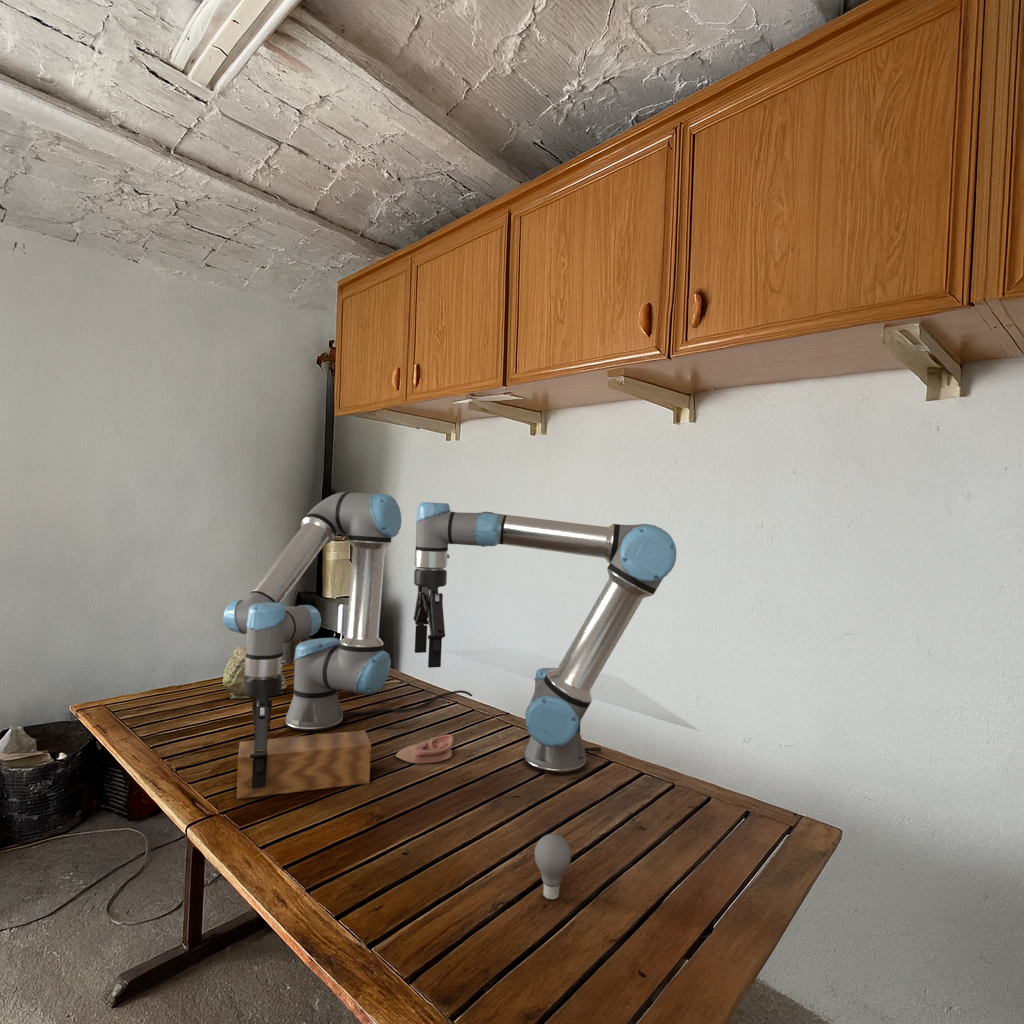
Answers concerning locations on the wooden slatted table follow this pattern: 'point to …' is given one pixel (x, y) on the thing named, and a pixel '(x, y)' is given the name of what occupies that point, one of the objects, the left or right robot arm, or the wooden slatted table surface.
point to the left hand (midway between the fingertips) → (259, 773)
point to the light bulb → (552, 862)
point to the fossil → (239, 674)
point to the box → (307, 763)
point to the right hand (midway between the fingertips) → (427, 659)
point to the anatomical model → (428, 750)
